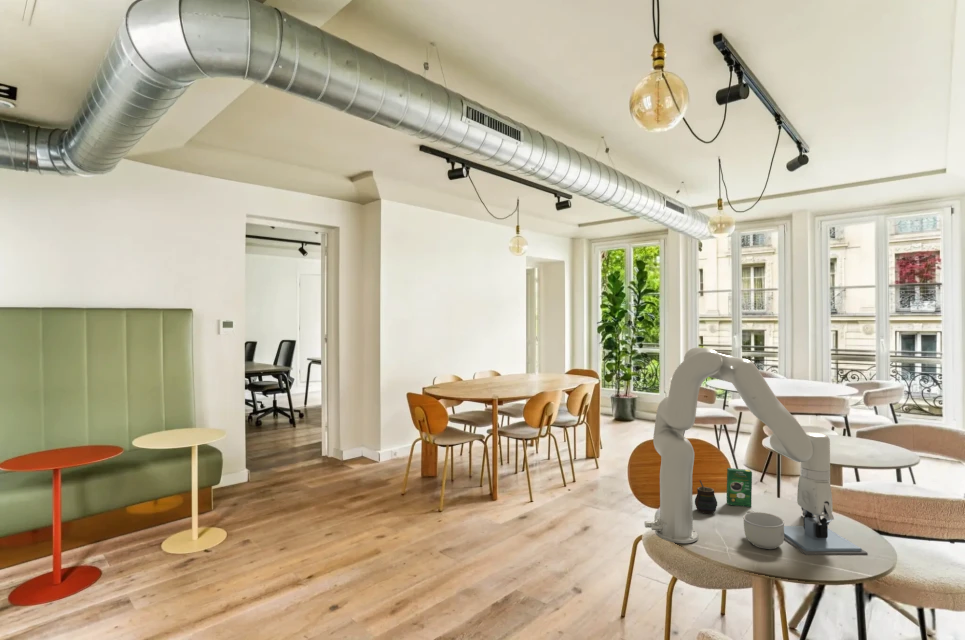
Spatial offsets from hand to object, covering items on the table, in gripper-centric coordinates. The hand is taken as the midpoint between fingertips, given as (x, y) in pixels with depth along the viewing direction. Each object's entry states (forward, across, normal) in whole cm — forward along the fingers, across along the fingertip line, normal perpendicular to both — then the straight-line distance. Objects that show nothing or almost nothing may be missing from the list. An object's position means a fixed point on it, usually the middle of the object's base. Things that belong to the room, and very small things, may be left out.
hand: (815, 533), depth 153 cm
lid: (+2, 0, 0) cm, 2 cm away
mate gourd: (+3, -24, -23) cm, 33 cm away
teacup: (+3, +1, -17) cm, 17 cm away
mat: (+2, 0, 0) cm, 2 cm away
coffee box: (+3, -30, -8) cm, 31 cm away
